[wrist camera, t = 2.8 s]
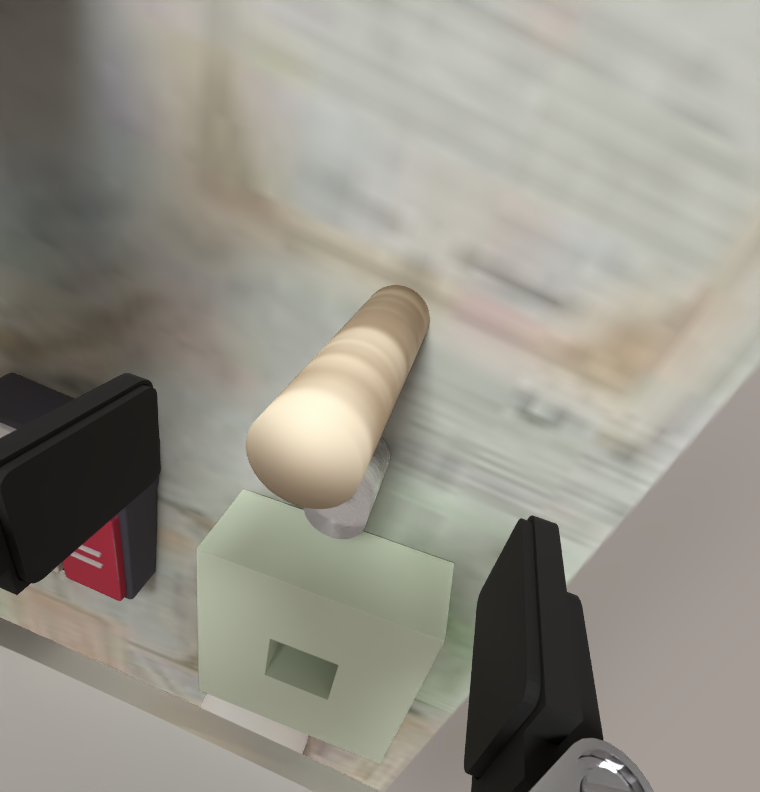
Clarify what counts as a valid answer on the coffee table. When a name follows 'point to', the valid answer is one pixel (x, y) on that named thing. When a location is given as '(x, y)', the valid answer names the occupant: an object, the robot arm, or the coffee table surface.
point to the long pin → (339, 404)
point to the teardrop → (256, 723)
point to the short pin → (353, 501)
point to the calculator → (118, 539)
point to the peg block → (317, 624)
